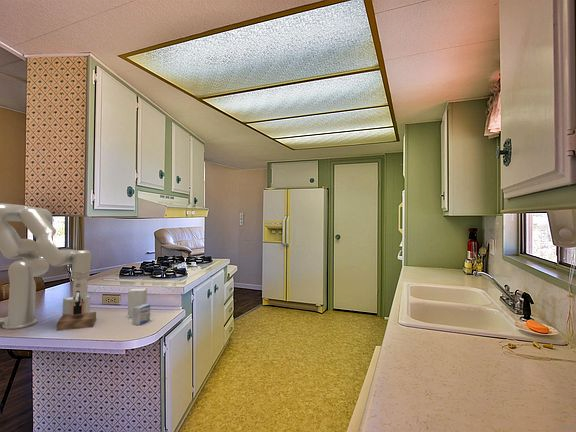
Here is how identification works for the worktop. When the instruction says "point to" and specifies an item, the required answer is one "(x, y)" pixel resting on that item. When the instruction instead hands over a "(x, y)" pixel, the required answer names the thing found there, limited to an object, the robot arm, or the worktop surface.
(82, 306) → the terracotta cube
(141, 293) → the skincare box
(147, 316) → the medicine box
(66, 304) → the skincare box
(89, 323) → the walnut stand
